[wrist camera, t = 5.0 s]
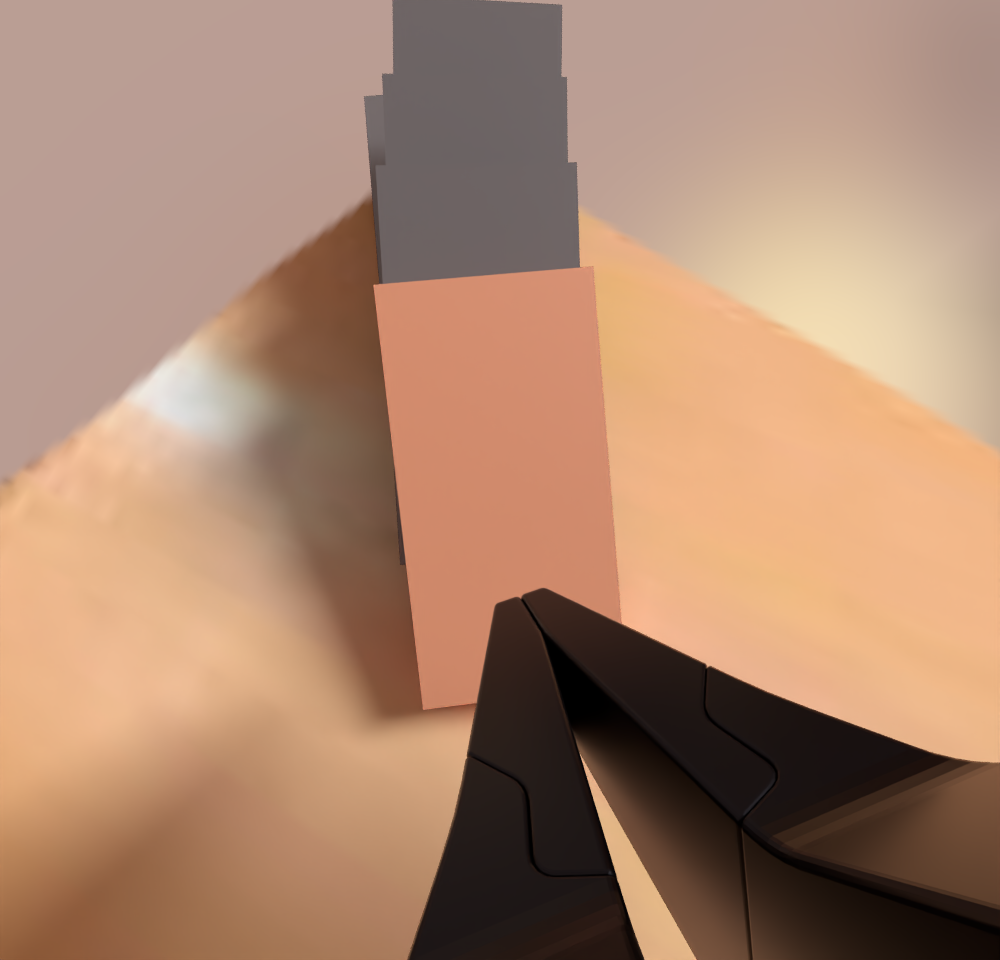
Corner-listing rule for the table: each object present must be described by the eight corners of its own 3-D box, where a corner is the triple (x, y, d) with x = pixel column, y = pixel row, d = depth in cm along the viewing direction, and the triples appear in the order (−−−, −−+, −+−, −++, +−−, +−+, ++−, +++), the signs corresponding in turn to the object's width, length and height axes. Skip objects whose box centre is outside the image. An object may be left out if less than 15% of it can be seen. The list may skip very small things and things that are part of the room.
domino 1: (626, 683, 14) (593, 266, 13) (422, 710, 14) (372, 284, 13) (609, 657, 16) (578, 283, 15) (426, 680, 16) (382, 299, 15)
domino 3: (570, 442, 17) (566, 77, 16) (396, 446, 17) (382, 73, 16) (560, 441, 18) (557, 108, 18) (402, 445, 18) (389, 106, 17)
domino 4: (558, 345, 18) (562, 5, 17) (396, 343, 18) (392, -5, 17) (550, 352, 20) (553, 40, 19) (401, 350, 19) (398, 32, 19)
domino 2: (588, 553, 16) (576, 162, 15) (400, 564, 15) (375, 165, 14) (576, 541, 17) (565, 188, 16) (405, 551, 17) (383, 191, 16)
